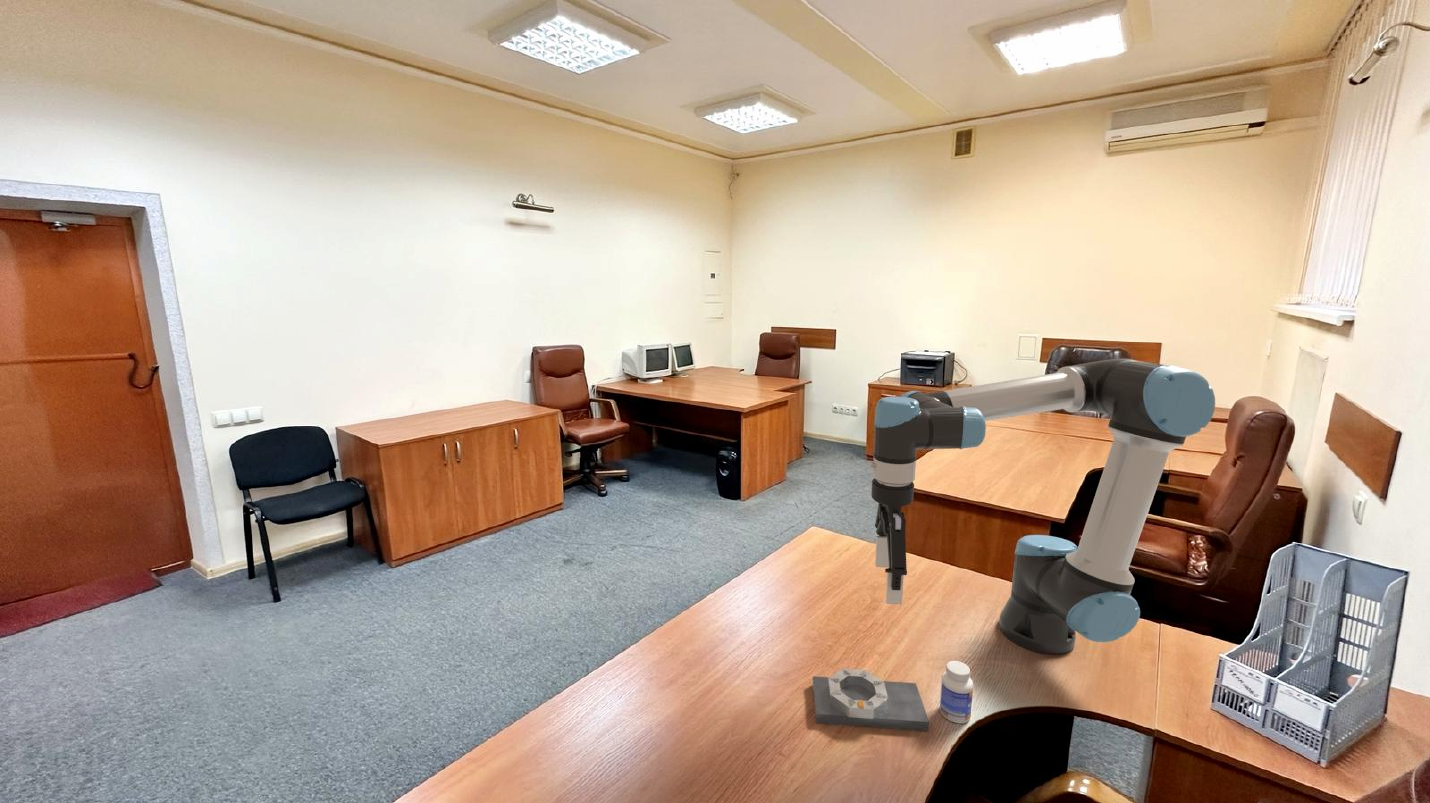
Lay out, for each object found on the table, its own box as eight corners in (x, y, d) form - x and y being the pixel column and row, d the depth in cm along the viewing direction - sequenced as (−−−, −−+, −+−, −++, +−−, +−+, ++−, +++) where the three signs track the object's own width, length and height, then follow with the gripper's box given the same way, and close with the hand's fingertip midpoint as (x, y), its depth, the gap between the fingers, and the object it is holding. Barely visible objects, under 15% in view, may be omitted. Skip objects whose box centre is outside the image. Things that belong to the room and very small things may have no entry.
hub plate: (914, 690, 110) (916, 671, 109) (928, 732, 100) (930, 711, 99) (812, 683, 112) (813, 664, 111) (816, 723, 102) (816, 703, 101)
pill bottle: (973, 726, 101) (978, 679, 99) (942, 721, 102) (946, 675, 100) (966, 704, 106) (971, 659, 104) (936, 700, 107) (940, 656, 105)
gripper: (864, 458, 116) (860, 552, 121) (882, 505, 92) (877, 619, 97) (901, 459, 115) (896, 554, 120) (929, 506, 91) (922, 622, 96)
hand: (887, 583), depth 108 cm, fingers open, 13 cm apart
